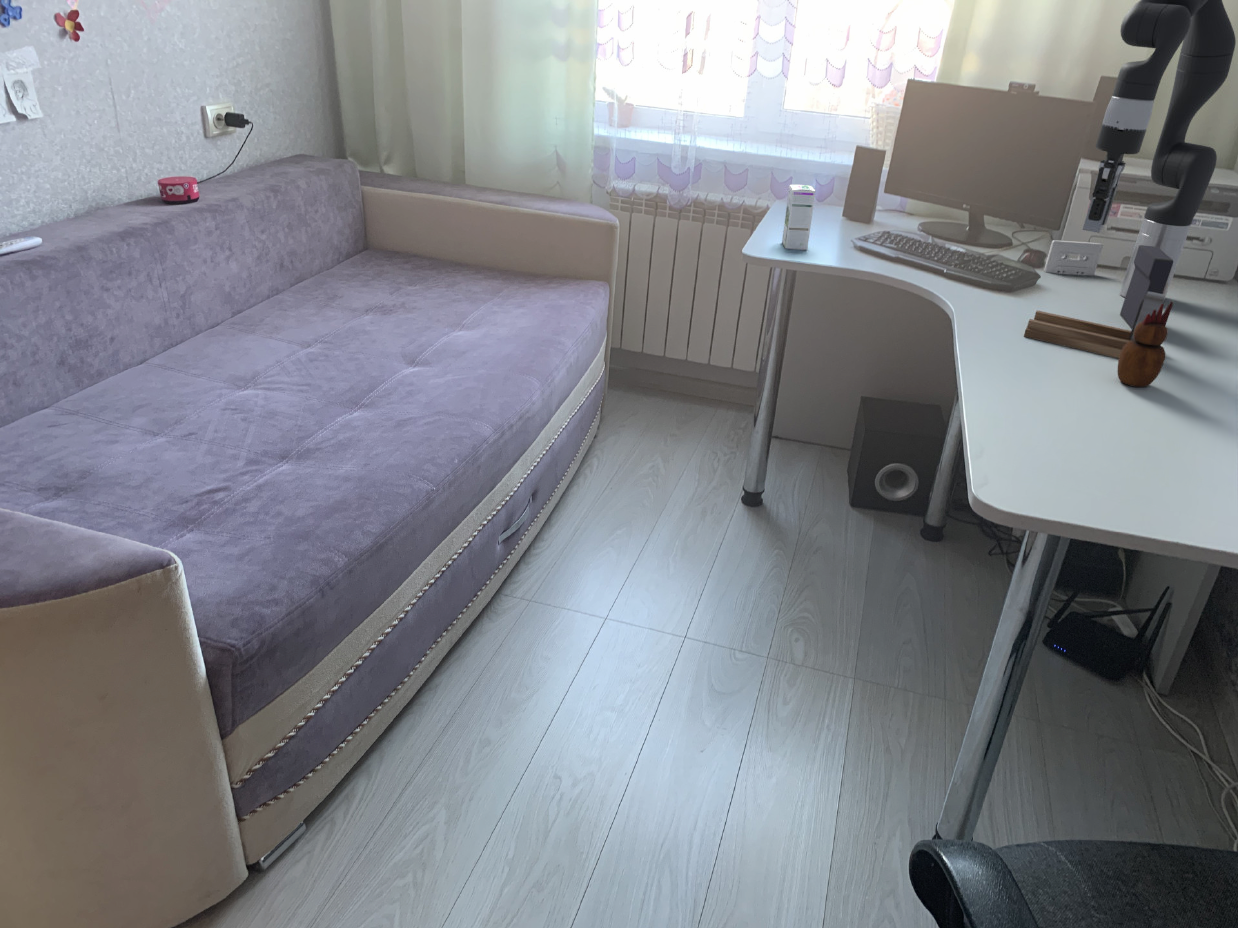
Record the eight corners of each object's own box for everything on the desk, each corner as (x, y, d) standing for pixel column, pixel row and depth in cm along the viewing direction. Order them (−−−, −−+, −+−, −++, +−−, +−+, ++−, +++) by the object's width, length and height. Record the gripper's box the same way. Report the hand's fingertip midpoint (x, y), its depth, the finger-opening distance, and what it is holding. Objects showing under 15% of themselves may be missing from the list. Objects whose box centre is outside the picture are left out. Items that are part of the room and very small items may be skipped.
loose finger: (1085, 226, 183) (1101, 174, 179) (1104, 230, 182) (1121, 177, 177) (1082, 230, 180) (1098, 176, 176) (1101, 233, 179) (1118, 179, 174)
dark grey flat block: (1153, 334, 189) (1178, 261, 182) (1130, 331, 190) (1154, 258, 182) (1137, 316, 198) (1161, 246, 191) (1116, 314, 199) (1139, 244, 192)
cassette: (1045, 273, 225) (1054, 241, 221) (1042, 271, 226) (1051, 239, 223) (1095, 276, 225) (1104, 245, 221) (1091, 274, 226) (1101, 242, 223)
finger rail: (1034, 323, 190) (1049, 268, 185) (1158, 351, 180) (1179, 293, 174) (1023, 336, 183) (1039, 279, 177) (1152, 366, 172) (1174, 306, 167)
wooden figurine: (1151, 381, 166) (1180, 299, 159) (1156, 393, 161) (1186, 309, 154) (1110, 374, 168) (1137, 293, 160) (1114, 385, 163) (1142, 303, 156)
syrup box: (807, 250, 230) (817, 190, 223) (783, 249, 230) (792, 188, 223) (804, 244, 235) (813, 185, 228) (780, 242, 235) (789, 183, 228)
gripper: (1108, 118, 179) (1081, 209, 187) (1096, 124, 168) (1068, 220, 176) (1151, 124, 176) (1122, 216, 184) (1142, 131, 165) (1111, 228, 173)
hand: (1096, 217), depth 180 cm, fingers closed on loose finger, 4 cm apart
